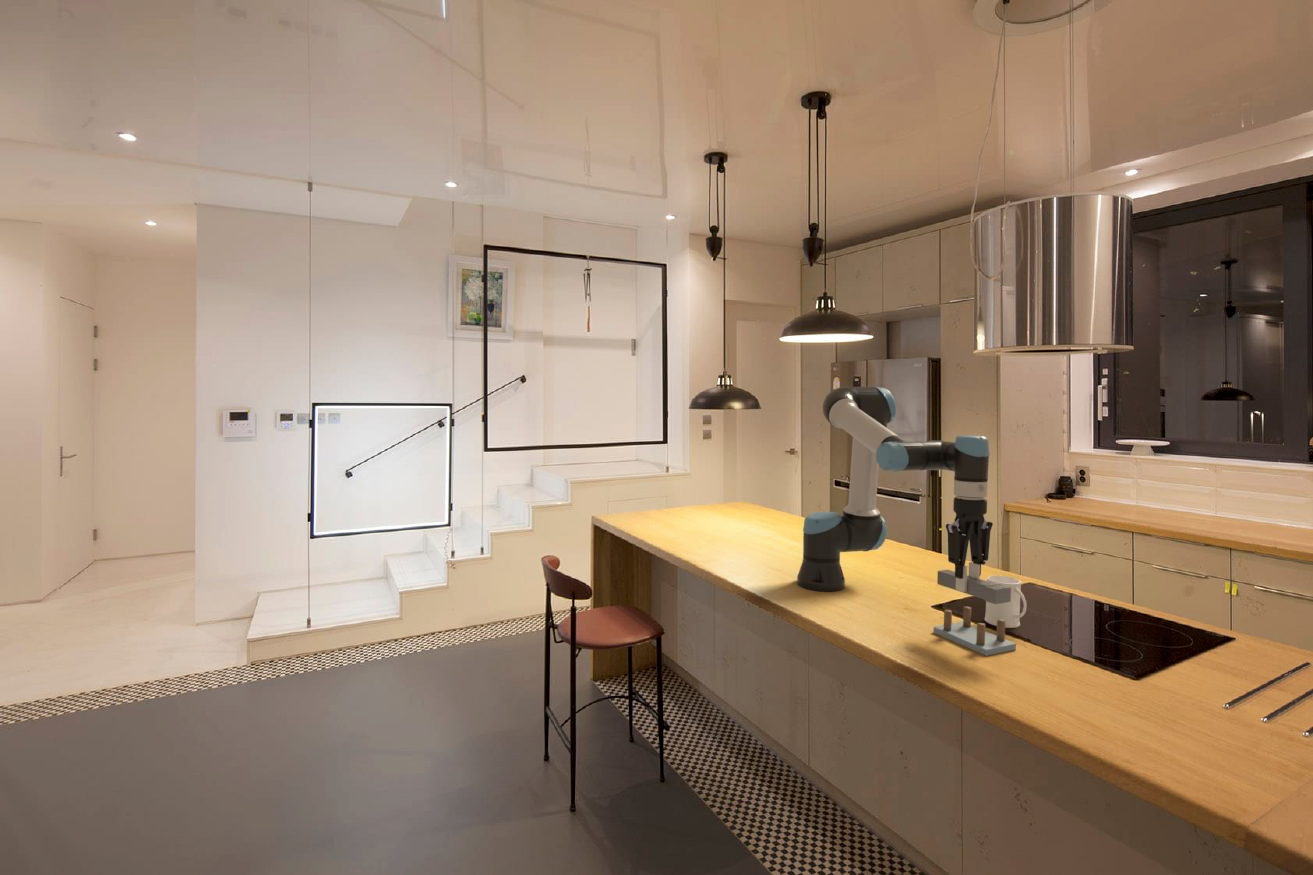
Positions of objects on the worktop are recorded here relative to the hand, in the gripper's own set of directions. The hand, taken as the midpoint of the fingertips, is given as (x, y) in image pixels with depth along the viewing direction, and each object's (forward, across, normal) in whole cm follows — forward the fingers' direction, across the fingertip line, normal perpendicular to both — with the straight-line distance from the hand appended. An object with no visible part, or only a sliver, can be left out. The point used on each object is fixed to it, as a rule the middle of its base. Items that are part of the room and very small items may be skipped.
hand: (967, 589), depth 158 cm
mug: (+13, +20, +5) cm, 24 cm away
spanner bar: (0, 0, 0) cm, 1 cm away
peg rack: (+13, +2, -1) cm, 13 cm away
